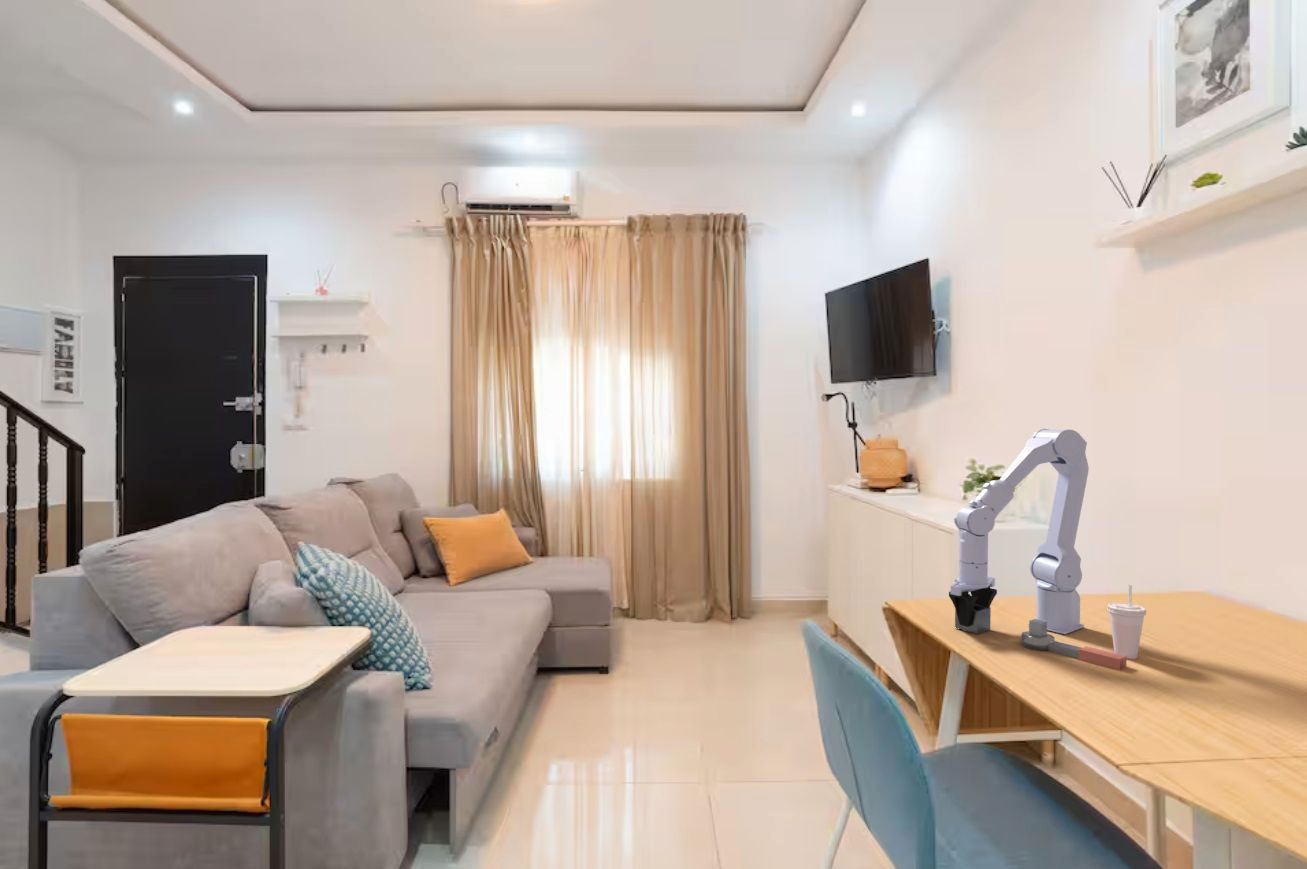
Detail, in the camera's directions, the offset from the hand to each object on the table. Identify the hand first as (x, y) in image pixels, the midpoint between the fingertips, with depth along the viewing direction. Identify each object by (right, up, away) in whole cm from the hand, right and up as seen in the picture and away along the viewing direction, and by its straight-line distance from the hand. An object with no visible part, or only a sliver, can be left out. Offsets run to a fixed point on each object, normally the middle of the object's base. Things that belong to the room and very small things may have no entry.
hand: (972, 623), depth 156 cm
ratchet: (+12, -2, -16) cm, 20 cm away
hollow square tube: (0, -1, 0) cm, 1 cm away
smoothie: (+22, -2, -17) cm, 28 cm away
